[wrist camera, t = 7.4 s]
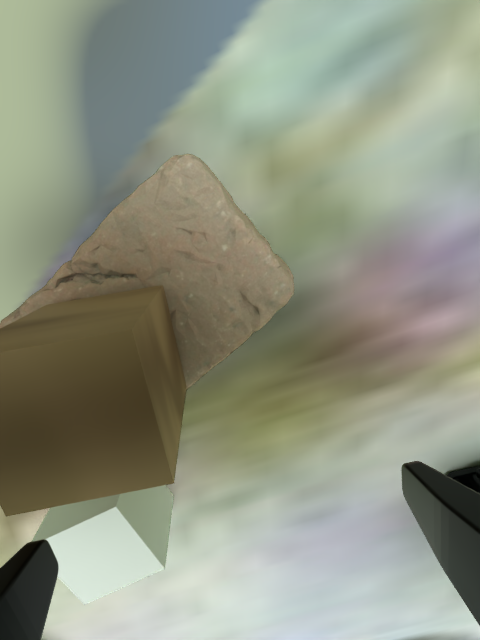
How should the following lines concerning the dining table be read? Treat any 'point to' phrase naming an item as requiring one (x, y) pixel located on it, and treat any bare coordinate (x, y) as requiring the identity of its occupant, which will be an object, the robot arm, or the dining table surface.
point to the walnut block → (89, 400)
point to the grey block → (109, 540)
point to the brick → (180, 263)
